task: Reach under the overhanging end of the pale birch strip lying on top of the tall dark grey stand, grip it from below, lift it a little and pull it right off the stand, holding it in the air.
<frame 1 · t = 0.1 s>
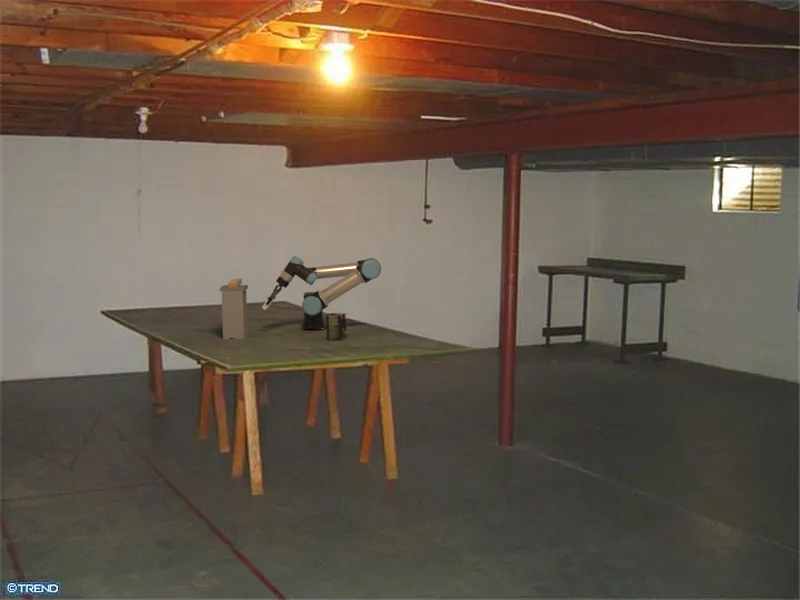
hand: (264, 307, 546), 15 cm above the table, tool tilted 35°, fingers open, 13 cm apart
birch strip: (235, 285, 533), point 30 cm above the table, touching grey stand
tampon box: (336, 339, 519), on the table
grey stand: (235, 336, 530), on the table
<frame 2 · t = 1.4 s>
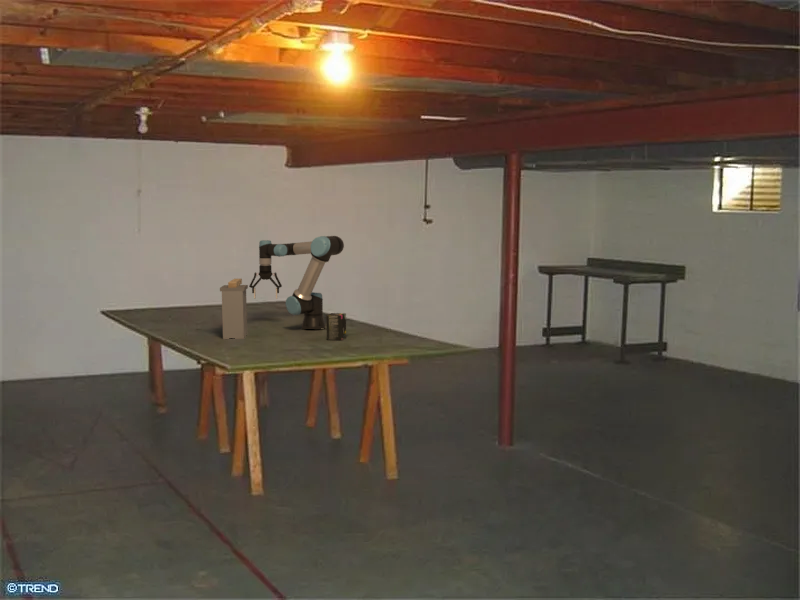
hand: (265, 298, 566), 19 cm above the table, tool pointing down, fingers open, 13 cm apart
nothing on the table moved.
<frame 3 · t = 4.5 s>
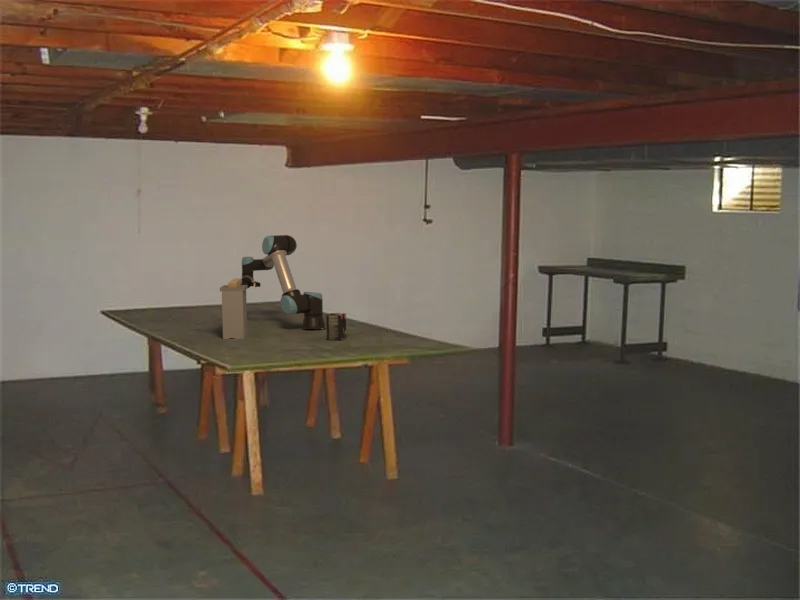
hand: (243, 286, 567), 26 cm above the table, tool horizontal, fingers open, 13 cm apart
nothing on the table moved.
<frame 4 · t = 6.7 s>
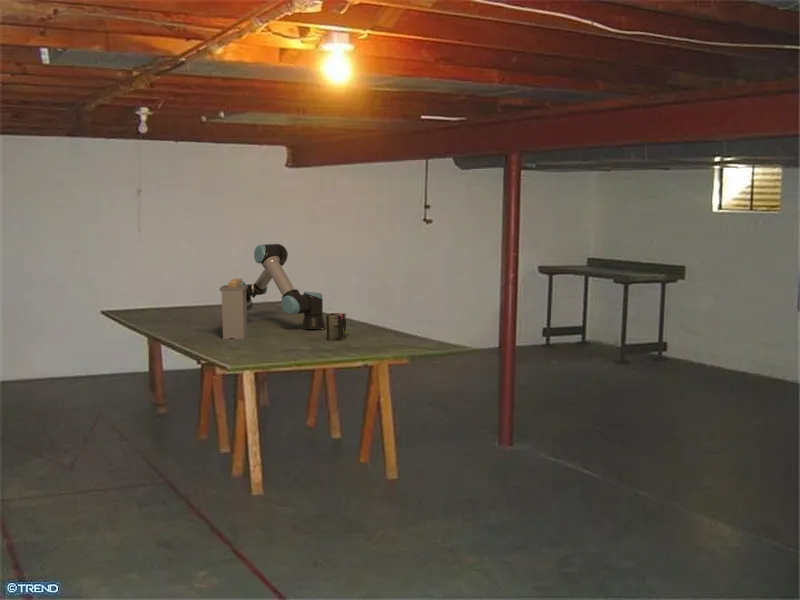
hand: (241, 286, 562), 27 cm above the table, tool pointing upward, fingers open, 13 cm apart
nothing on the table moved.
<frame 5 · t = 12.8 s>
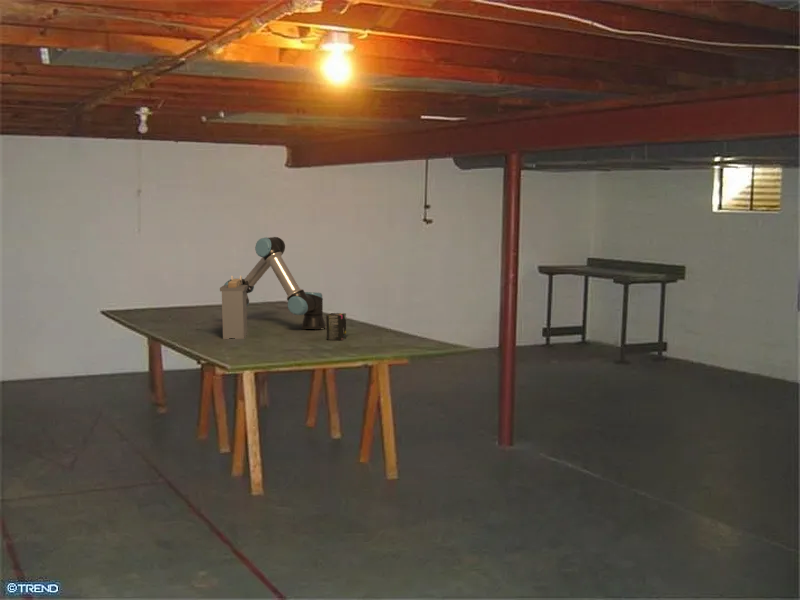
hand: (236, 277, 539), 34 cm above the table, tool pointing upward, fingers closed on birch strip, 4 cm apart
birch strip: (235, 285, 533), point 30 cm above the table, touching grey stand, gripper
everything else where it was.
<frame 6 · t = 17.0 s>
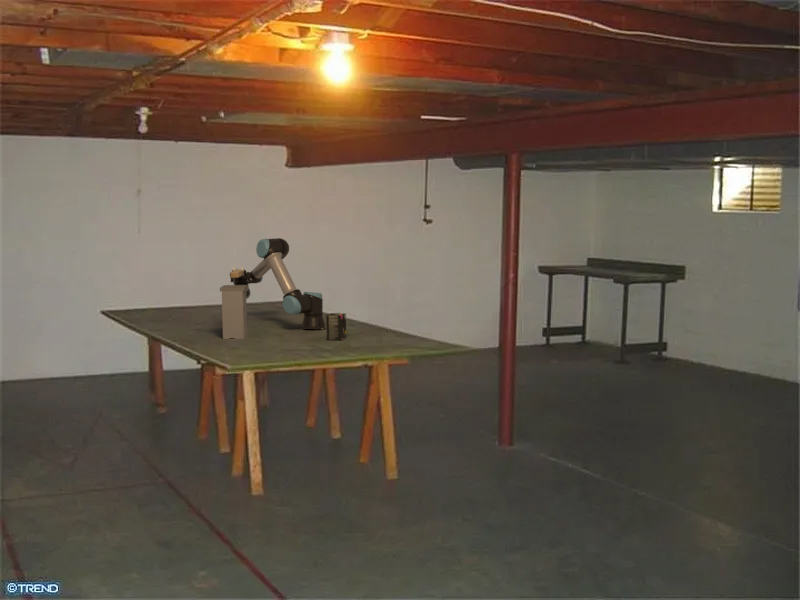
hand: (238, 268, 555), 38 cm above the table, tool pointing upward, fingers closed on birch strip, 4 cm apart
birch strip: (237, 275, 550), point 34 cm above the table, touching gripper
everything else where it was.
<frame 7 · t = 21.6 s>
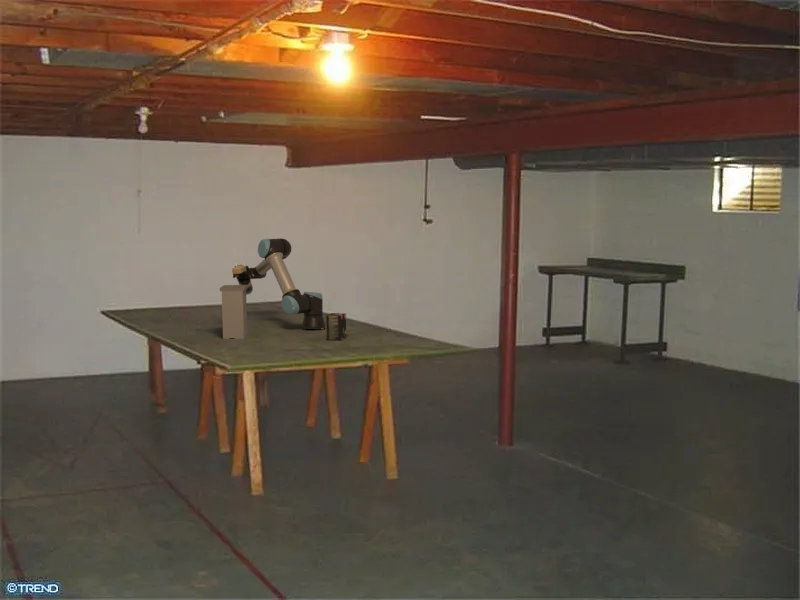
hand: (240, 264, 560), 41 cm above the table, tool pointing upward, fingers closed on birch strip, 4 cm apart
birch strip: (239, 271, 555), point 36 cm above the table, touching gripper
everything else where it was.
at the end: birch strip moved 23.4 cm from its start; the gripper is holding birch strip; birch strip touching gripper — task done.
